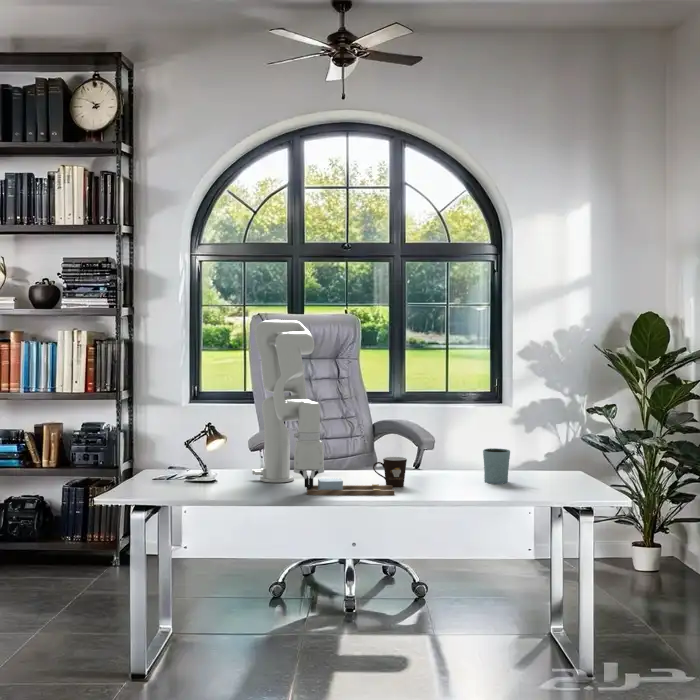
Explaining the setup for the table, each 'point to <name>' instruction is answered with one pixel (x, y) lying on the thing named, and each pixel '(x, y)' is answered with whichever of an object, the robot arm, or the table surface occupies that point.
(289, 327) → the robot arm
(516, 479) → the table surface
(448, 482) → the table surface
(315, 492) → the wooden rail frame
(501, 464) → the green tapered cup
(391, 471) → the coffee mug
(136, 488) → the table surface
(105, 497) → the table surface
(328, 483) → the block
